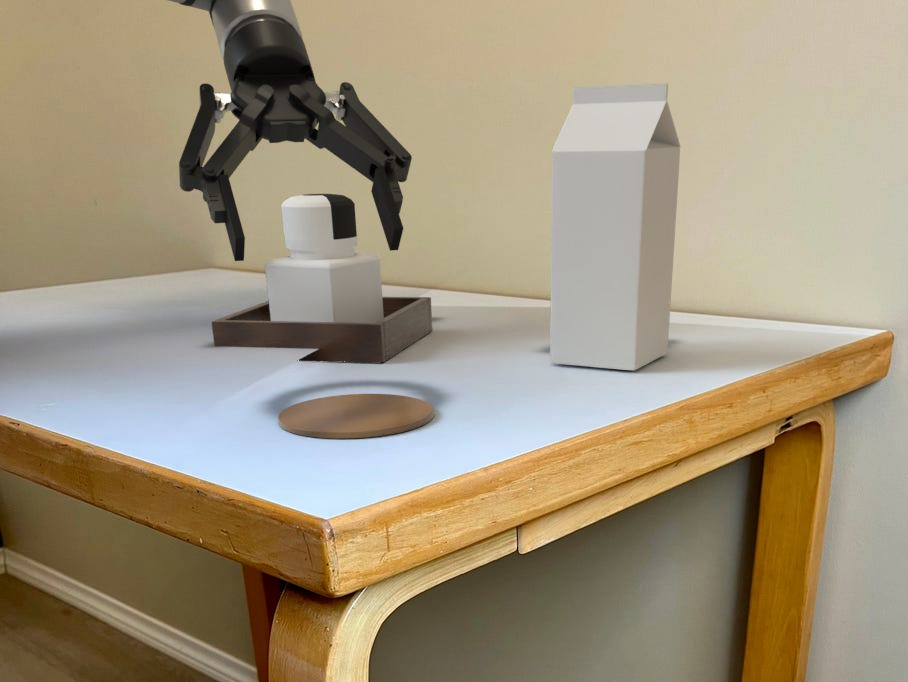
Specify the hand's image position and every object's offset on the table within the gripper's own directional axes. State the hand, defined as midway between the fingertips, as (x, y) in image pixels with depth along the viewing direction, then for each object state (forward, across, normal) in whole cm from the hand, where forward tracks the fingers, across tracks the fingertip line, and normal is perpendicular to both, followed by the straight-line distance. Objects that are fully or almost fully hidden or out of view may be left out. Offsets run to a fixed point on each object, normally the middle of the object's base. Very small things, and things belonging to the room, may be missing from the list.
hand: (320, 245), depth 85 cm
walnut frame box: (+6, 0, -5) cm, 8 cm away
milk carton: (+19, -18, +7) cm, 27 cm away
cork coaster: (+25, +5, +13) cm, 28 cm away
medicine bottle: (+6, 0, -5) cm, 8 cm away
